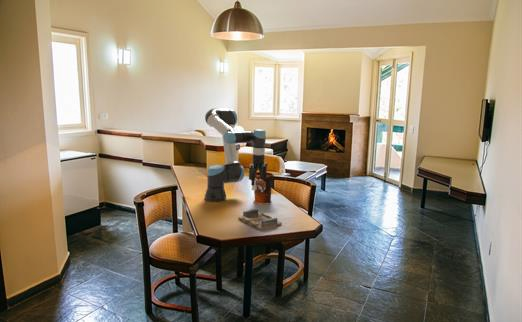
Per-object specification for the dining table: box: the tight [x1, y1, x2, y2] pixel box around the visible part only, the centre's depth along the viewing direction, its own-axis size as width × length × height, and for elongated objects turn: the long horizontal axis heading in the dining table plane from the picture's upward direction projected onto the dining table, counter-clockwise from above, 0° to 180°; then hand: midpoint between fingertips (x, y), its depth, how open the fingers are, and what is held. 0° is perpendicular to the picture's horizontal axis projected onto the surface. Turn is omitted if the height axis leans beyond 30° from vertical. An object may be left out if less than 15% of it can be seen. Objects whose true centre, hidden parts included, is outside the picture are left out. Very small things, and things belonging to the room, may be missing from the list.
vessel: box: [253, 171, 275, 205], centre depth 252 cm, size 14×14×20 cm
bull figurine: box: [251, 178, 266, 192], centre depth 231 cm, size 4×13×8 cm, turn 49°
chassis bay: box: [237, 208, 283, 231], centre depth 212 cm, size 21×16×4 cm
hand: (257, 189), depth 232 cm, fingers closed on bull figurine, 5 cm apart
